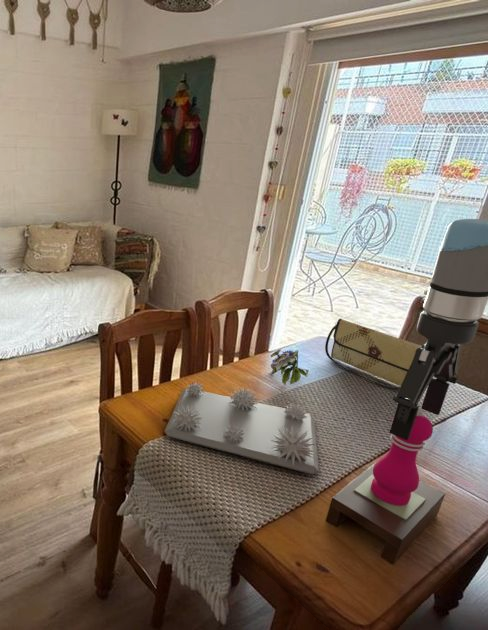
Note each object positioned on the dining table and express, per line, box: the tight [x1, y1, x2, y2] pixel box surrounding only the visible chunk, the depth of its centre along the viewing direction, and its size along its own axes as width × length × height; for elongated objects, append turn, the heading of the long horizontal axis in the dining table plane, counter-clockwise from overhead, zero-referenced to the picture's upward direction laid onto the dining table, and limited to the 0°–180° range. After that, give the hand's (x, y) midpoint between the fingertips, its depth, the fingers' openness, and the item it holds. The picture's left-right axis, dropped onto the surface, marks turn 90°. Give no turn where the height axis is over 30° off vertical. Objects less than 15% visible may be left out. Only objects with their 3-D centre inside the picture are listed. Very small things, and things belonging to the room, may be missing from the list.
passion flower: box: [270, 348, 310, 386], centre depth 141 cm, size 11×11×12 cm
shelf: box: [325, 462, 446, 565], centre depth 87 cm, size 12×20×6 cm, turn 124°
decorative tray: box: [164, 381, 320, 475], centre depth 114 cm, size 35×26×10 cm
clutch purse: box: [324, 318, 422, 390], centre depth 142 cm, size 30×7×15 cm, turn 27°
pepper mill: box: [371, 406, 434, 506], centre depth 83 cm, size 7×7×20 cm
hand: (415, 423), depth 80 cm, fingers open, 13 cm apart
